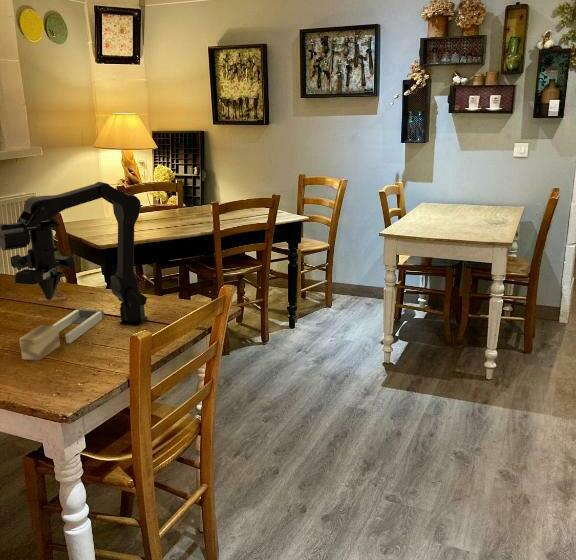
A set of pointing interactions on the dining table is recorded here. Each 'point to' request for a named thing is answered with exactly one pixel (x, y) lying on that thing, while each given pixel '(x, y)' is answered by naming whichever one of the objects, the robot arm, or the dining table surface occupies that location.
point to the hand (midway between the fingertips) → (49, 299)
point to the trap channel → (79, 322)
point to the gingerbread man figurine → (54, 298)
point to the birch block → (39, 342)
